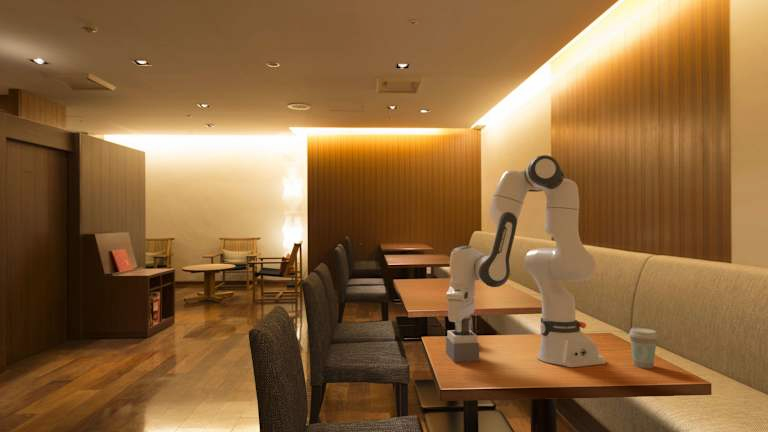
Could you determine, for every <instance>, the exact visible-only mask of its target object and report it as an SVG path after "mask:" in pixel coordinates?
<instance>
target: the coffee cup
mask: <svg viewBox="0 0 768 432" xmlns="http://www.w3.org/2000/svg"><path fill="white" fill-rule="evenodd" d="M628 335H629V337H630V347H631V354H632V355H631V356H632V364H633V366H635V367H636V368H640V369H653V368H654V364H655V356H656V349H657V348H656V347H657V341H658V336H659V335H658V334H657V331H656V330H654V329H650V328H647V327H646V328H645V327H633V328H632V327H631V328H630V330H629V333H628Z"/></svg>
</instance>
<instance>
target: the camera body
mask: <svg viewBox="0 0 768 432" xmlns="http://www.w3.org/2000/svg"><path fill="white" fill-rule="evenodd" d="M446 332H447V336H445V354H446V355H447V356H448V357H449V358H450V359H451V360H452V362H454V363H458V362H463V363H464V362H480V343H478V335H477V334H476V333H475V332H473V330H472V331H471V330H469V335H460V336H455V329H453V330H452V329H451V330H447V331H446Z"/></svg>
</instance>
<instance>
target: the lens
mask: <svg viewBox="0 0 768 432" xmlns="http://www.w3.org/2000/svg"><path fill="white" fill-rule="evenodd" d="M461 324H462V332H457V331H456V325H455V324H454V326H455V327H454V330H455V336H460V335H469V317H468V316H466V318H464V319H463V320H462V323H461Z"/></svg>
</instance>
